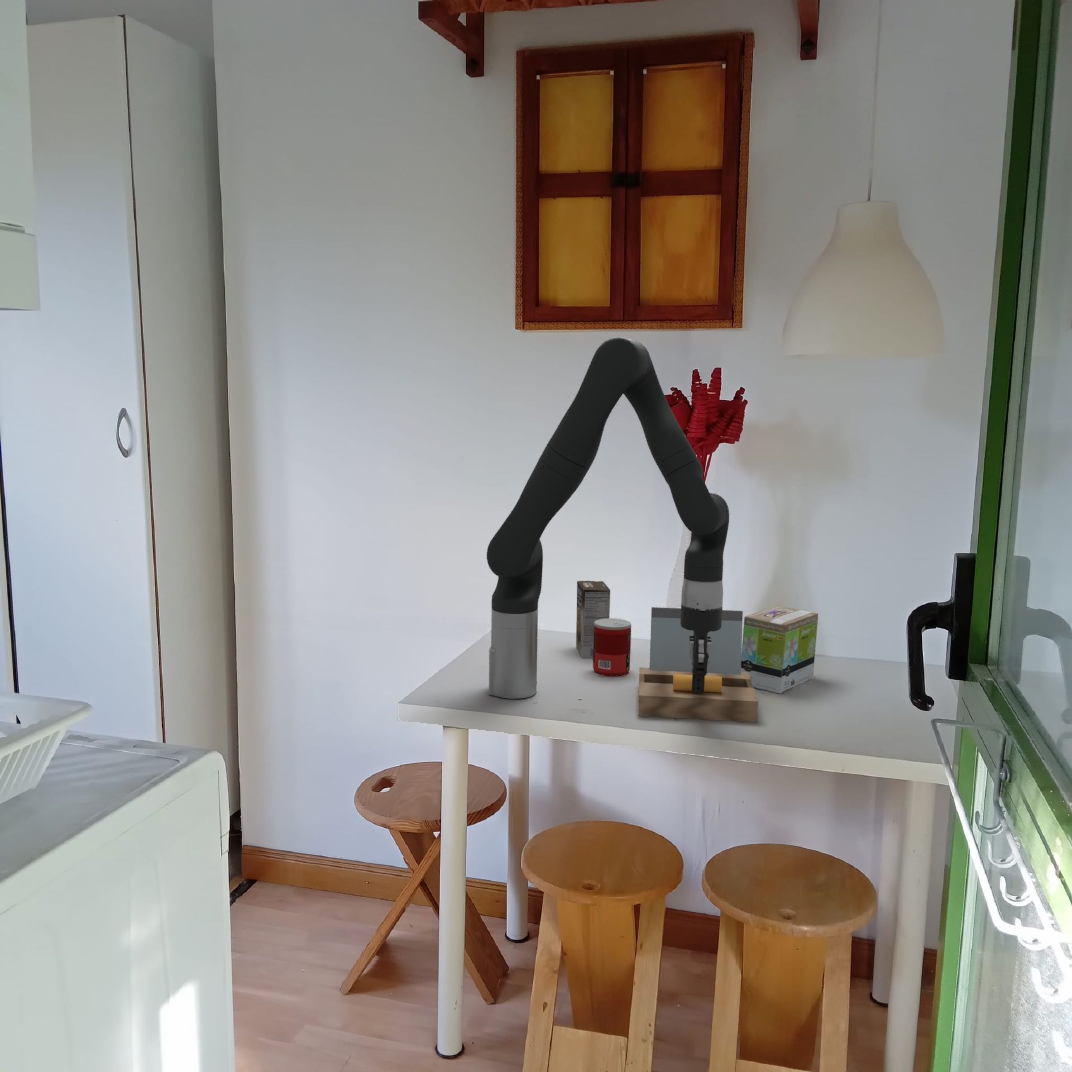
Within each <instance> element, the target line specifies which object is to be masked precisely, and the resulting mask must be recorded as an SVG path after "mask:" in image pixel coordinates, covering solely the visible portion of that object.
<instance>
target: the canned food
mask: <svg viewBox="0 0 1072 1072" xmlns="http://www.w3.org/2000/svg"><path fill="white" fill-rule="evenodd" d="M631 643H632V622H631V621H629V620H626V619H622V618H611V617H609V618H606V619H599V620H596V621H595V622H594V640H593V658H592V670H593V672H594V673H595V674H597V675H598V676H604V677H609V678H610V677H611V678H612V677H614V678H615V677H616V678H618V677H624V676H627V675H628V674H629V672H630V668H631V645H632V644H631Z"/></svg>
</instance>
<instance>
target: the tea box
mask: <svg viewBox="0 0 1072 1072" xmlns="http://www.w3.org/2000/svg"><path fill="white" fill-rule="evenodd" d="M818 618H819V613H817V612H813V611H807V610H803V609H798V608H791V607H786V606H780V605H775V606H773V607H768V608H767V609H766V608H765V609H763V610H761V611H758V612H755V613H751V614H748V615H745V616H744V620H743V628H742V650H741V672H747V673H749V676H750V679H751V682H752V685H753V688H755V689H759V690H764V691H768V692H773V693H778V694H782V693H783V692H785V691H788V690H789V689H791V688H794V687H796V686H798V685H800V684H802V683H805V682H807V681H810V680H812V679H813V678H814V671H815V658H816V657H815V656H816V645H817V636H818V635H817V632H818V624H819V623H818V622H819V621H818V620H819V619H818Z"/></svg>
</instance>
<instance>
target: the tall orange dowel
mask: <svg viewBox="0 0 1072 1072" xmlns="http://www.w3.org/2000/svg"><path fill="white" fill-rule="evenodd" d="M673 690H679V691H692V675H677V674H674V676H673ZM721 691H722V677H718V676H705V681H704V692H719V693H721Z"/></svg>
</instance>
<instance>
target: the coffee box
mask: <svg viewBox="0 0 1072 1072" xmlns="http://www.w3.org/2000/svg"><path fill="white" fill-rule="evenodd" d="M610 606H611V589H610V587H608V585H607V584H606V583H605V582H604V581H603V580H599V581H597V580H595V581H594V580H576V631H575V633H576V634H575V648H576V650H577V652H578V654H579V655H580V657H581V659H593V640H594V622H595V621H596V620H599V619H606V618H610V613H611V611H610V610H611V609H610V608H611V607H610Z"/></svg>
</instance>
